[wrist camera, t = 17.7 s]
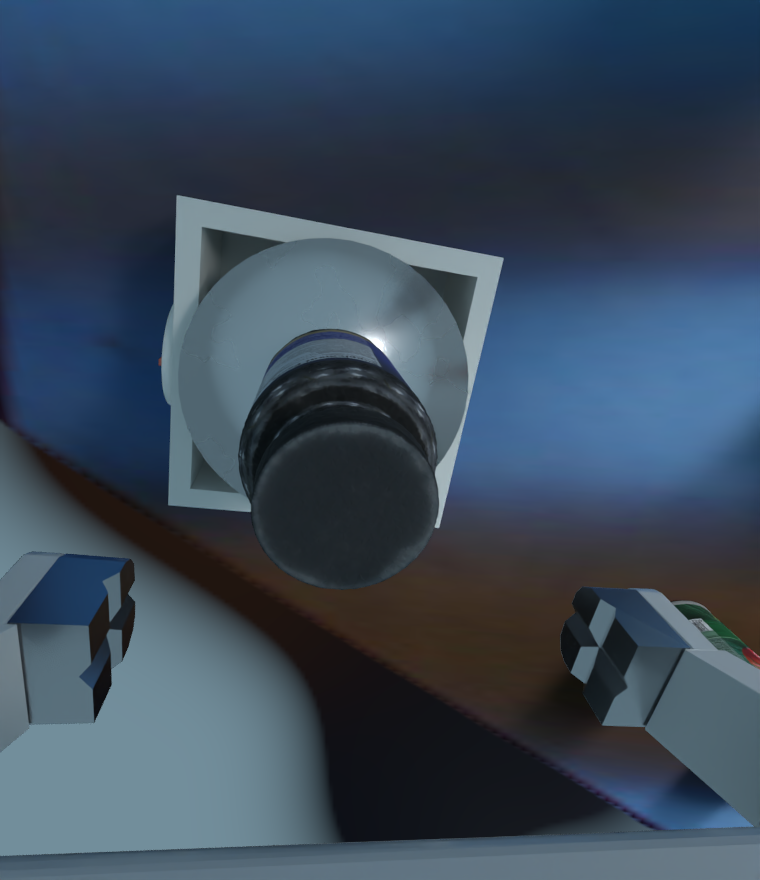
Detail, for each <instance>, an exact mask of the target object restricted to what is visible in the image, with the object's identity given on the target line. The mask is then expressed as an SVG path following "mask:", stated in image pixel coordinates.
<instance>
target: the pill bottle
mask: <svg viewBox="0 0 760 880" xmlns="http://www.w3.org/2000/svg"><path fill="white" fill-rule="evenodd" d="M437 458H438V455H437V440H436V433H435V431H434V427H433V424H432V423H431V419H430V417H429V416H428V414H427V413H426V409H425V408H424V406H423V405H422V403H421V402H420V400H419V398H418V397H417V396H416V395H415V393H414V392H413V391H412V390H411V388H410V387H409V386H408V384H407V383H406V382H405V380H404V379H403V378H402V376H401V375H400V373H399V372H398V371H397V370H396V368H395V367H394V366H393V364H392V363H391V361H390V360H389V359H388V357H387V356H386V355H385V354H384V353H383V352H382V351H381V350H380V349H379V348H378V347H377V346H376V345H375V344H374V343H373V342H371V341H370V340H369V339H367V338H366V337H363V336H361V335H359V334H357V333H354V332H351V331H347V330H342V329H318V330H312V331H309V332H307V333H304V334H302V335H299V336H297V337H295V338H294V339H292V340H291V341H290V342H289V343H287V344H286V345H285V346H284V347H283V348H282V349H281V350H279V351H278V352H277V353H276V354H275V355H274V357H273V358H272V360H271V362H270V364H269V366H268V368H267V370H266V373H265V375H264V377H263V380H262V382H261V385H260V387H259V390H258V392H257V395H256V397H255V400H254V402H253V405H252V407H251V409H250V412H249V414H248V417H247V419H246V421H245V425H244V428H243V430H242V434H241V437H240V444H239V453H238V461H239V473H240V477H241V481H242V485H243V488H244V490H245V493H246V496H247V497H248V499H249V502H250V504H251V518H252V525H253V528H254V531H255V535H256V537H257V539H258V541H259V543H260V545H261V547H262V549H263V550H264V552H265V553H266V554H267V556H268V557H269V558H270V559H271V560H272V561H273V562H274V563H275V564H276V565H277V566H278V568H280V569H281V570H283V571H284V572H285V573H287V574H288V575H290V576H292V577H294V578H296V579H297V580H300V581H302V582H304V583H307V584H310V585H313V586H316V587H320V588H328V589H331V588H332V589H340V590H344V589H357V588H361V587H366V586H370V585H373V584H377V583H379V582H382V581H384V580H386V579H388V578H390V577H392V576H393V575H395V574H397V573H398V572H400V571H401V570H402V569H404V568H406V567H407V566H408V565H409V564H410V563H411V562H412V561H413V560H414V559H416V558H417V557H418V555H419V553H420V552H422V551H423V549H424V547H425V546H426V545H427V543H428V541H429V539H430V538H431V535H432V533H433V530H434V528H435V524H436V520H437V518H438V512H439V496H438V485H437V481H436V477H435V471H436V466H437Z"/></svg>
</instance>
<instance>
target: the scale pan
mask: <svg viewBox="0 0 760 880" xmlns="http://www.w3.org/2000/svg"><path fill="white" fill-rule="evenodd" d="M318 329H342V330H347V331H351V332H354V333H357V334H359V335H361V336H363V337H366V338H367V339H369V340H370V341H371V342H373V343H374V344H375V345H376V346H377V347H378V348H379V349H380V350H381V351H382V352H383V353H384V354H385V355H386V356H387V357H388V359H389V360H390V361H391V363H392V364H393V366H394V367H395V368H396V370H397V371H398V372H399V373H400V375H401V376H402V378H403V379H404V380H405V382H406V383H407V384H408V386H409V387H410V388H411V390H412V391H413V392H414V393H415V395H416V396H417V397H418V398H419V400H420V402H421V403H422V405H423V406H424V408H425V409H426V413H427V414H428V416H429V417H430V419H431V423H432V424H433V427H434V431H435V433H436V440H437V455H438V458H437V466H438V464H439V463H440V462H441V461H442V459H443V458H444V457H445V455H446V453H447V452H448V450H449V448H450V447H451V445H452V443H453V441H454V439H455V437H456V435H457V433H458V430H459V428H460V425H461V422H462V419H463V415H464V412H465V407H466V401H467V396H468V377H469V375H468V364H467V356H466V352H465V347H464V343H463V339H462V336H461V334H460V331H459V328H458V326H457V323H456V321H455V319H454V317H453V315H452V314H451V312H450V310H449V308H448V306H447V305H446V303H445V302H444V301H443V299H442V298H441V296H440V295H439V294H438V292H437V291H436V290H435V289H434V288H433V287H432V286H431V285H430V284H429V283H428V281H427V280H426V279H425V278H424V277H423V276H422V275H420V274H419V273H418V272H416V271H415V270H414V269H413V268H411V267H410V266H409V265H408V264H406V263H404V262H403V261H401V260H399V259H398V258H396V257H394V256H393V255H391V254H389V253H387V252H384V251H382V250H379V249H377V248H375V247H372V246H370V245H366V244H362V243H358V242H354V241H350V240H342V239H333V238H311V239H303V240H297V241H291V242H286V243H283V244H280V245H277V246H274V247H270V248H267V249H265V250H263V251H261V252H259V253H257V254H255V255H253V256H251V257H249V258H247V259H246V260H244V261H243V262H241V263H240V264H238V265H237V266H235V267H234V268H232V269H231V270H230V271H229V272H228V273H227V274H225V275H224V276H223V277H222V278H221V279H220V280H219V281H218V282H217V283H216V284H215V285H214V286H213V287H212V289H211V290H210V291H209V292H208V294H207V295H206V296H205V297H204V298H203V300H202V302H201V303H200V305H199V307H198V308H197V310H196V312H195V313H194V315H193V317H192V319H191V321H190V324H189V326H188V329H187V331H186V334H185V336H184V340H183V344H182V348H181V352H180V359H179V369H178V386H179V397H180V402H181V408H182V413H183V416H184V419H185V422H186V425H187V428H188V430H189V432H190V434H191V437H192V439H193V441H194V443H195V445H196V447H197V448H198V450H199V451H200V453H201V454H202V456H203V457H204V459H205V460H206V462H207V463H208V464H209V465H210V466H211V468H212V469H213V470H214V471H215V472H216V473H217V474H218V475H219V476H220V477H221V478H222V479H223V480H224V481H225V482H226V483H227V484H228V485H230V486H231V487H232V488H233V489H235V490H236V491H238V492H239V493H240V494H242V495H243V496H245V497H246V498H248V497H247V496H246V493H245V490H244V488H243V485H242V481H241V477H240V473H239V461H238V453H239V444H240V437H241V434H242V430H243V428H244V425H245V421H246V419H247V417H248V414H249V412H250V409H251V407H252V405H253V402H254V400H255V397H256V395H257V392H258V390H259V387H260V385H261V382H262V380H263V377H264V375H265V373H266V370H267V368H268V366H269V364H270V362H271V360H272V358H273V357H274V355H275V354H276V353H277V352H278V351H279V350H281V349H282V348H283V347H284V346H285V345H286V344H287V343H289V342H290V341H291V340H292V339H294V338H295V337H297V336H299V335H302V334H304V333H307V332H309V331H312V330H318ZM437 466H436V467H437Z"/></svg>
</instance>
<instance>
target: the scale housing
mask: <svg viewBox="0 0 760 880" xmlns="http://www.w3.org/2000/svg"><path fill="white" fill-rule="evenodd" d="M311 238H333V239H342V240H350V241H354V242H358V243H362V244H366V245H370V246H372V247H375V248H377V249H379V250H382V251H384V252H387V253H389V254H391V255H393V256H394V257H396V258H398V259H399V260H401V261H403V262H404V263H406V264H408V265H409V266H410V267H411V268H413V269H414V270H415V271H416V272H418V273H419V274H420V275H422V276H423V277H424V278H425V279H426V280H427V281H428V283H429V284H430V285H431V286H432V287H433V288H434V289H435V290H436V291H437V292H438V294H439V295H440V296H441V298H442V299H443V301H444V302H445V303H446V305H447V306H448V308H449V310H450V312H451V314H452V315H453V317H454V319H455V321H456V323H457V326H458V328H459V331H460V334H461V336H462V339H463V343H464V347H465V352H466V356H467V364H468V375H469V377H468V396H467V401H466V407H465V412H464V415H463V419H462V422H461V425H460V428H459V430H458V433H457V435H456V437H455V439H454V441H453V443H452V445H451V447H450V448H449V450H448V452H447V453H446V455H445V457H444V458H443V459H442V461H441V462H440V463H439V464H438V466H437V467H436V471H435V477H436V481H437V485H438V496H439V512H438V518H437V520H436V524H435V527H436V528H439V526H440V522H441V518H442V513H443V509H444V505H445V501H446V497H447V493H448V488H449V484H450V480H451V476H452V472H453V468H454V463H455V459H456V455H457V451H458V447H459V443H460V438H461V434H462V430H463V426H464V422H465V418H466V413H467V409H468V405H469V401H470V397H471V393H472V388H473V384H474V380H475V376H476V372H477V368H478V363H479V359H480V355H481V351H482V347H483V343H484V338H485V334H486V330H487V326H488V322H489V318H490V313H491V309H492V305H493V301H494V297H495V293H496V288H497V284H498V280H499V276H500V272H501V268H502V263H503V259H504V258H501V257H496V256H491V255H486V254H480V253H475V252H470V251H465V250H460V249H454V248H449V247H444V246H439V245H434V244H428V243H423V242H418V241H413V240H408V239H403V238H397V237H392V236H387V235H382V234H377V233H371V232H366V231H361V230H356V229H351V228H345V227H340V226H335V225H330V224H325V223H319V222H314V221H309V220H304V219H299V218H293V217H288V216H283V215H278V214H273V213H267V212H262V211H257V210H252V209H247V208H241V207H236V206H231V205H226V204H221V203H215V202H210V201H205V200H200V199H195V198H189V197H184V196H179V195H177V205H176V242H175V278H174V304H173V305H172V308H171V310H170V313H169V315H168V319H167V323H166V327H165V333H164V339H163V347H162V357H161V358H159V365H160V366H161V372H162V386H163V392H164V396H165V399H166V401H167V403H168V404H169V405H171V424H170V460H169V497H168V505H172V506H184V507H196V508H208V509H220V510H232V511H244V512H251V504H250V502H249V499H248V498H246V497H245V496H243V495H242V494H240V493H239V492H238V491H236V490H235V489H233V488H232V487H231V486H230V485H228V484H227V483H226V482H225V481H224V480H223V479H222V478H221V477H220V476H219V475H218V474H217V473H216V472H215V471H214V470H213V469H212V468H211V466H210V465H209V464H208V463H207V462H206V460H205V459H204V457H203V456H202V454H201V453H200V451H199V450H198V448H197V447H196V445H195V443H194V441H193V439H192V437H191V434H190V432H189V430H188V428H187V425H186V422H185V419H184V416H183V413H182V408H181V402H180V397H179V386H178V369H179V359H180V352H181V348H182V344H183V340H184V336H185V334H186V331H187V329H188V326H189V324H190V321H191V319H192V317H193V315H194V313H195V312H196V310H197V308H198V307H199V305H200V303H201V302H202V300H203V298H204V297H205V296H206V295H207V294H208V292H209V291H210V290H211V289H212V287H213V286H214V285H215V284H216V283H217V282H218V281H219V280H220V279H221V278H222V277H223V276H224V275H225V274H227V273H228V272H229V271H230V270H231V269H232V268H234V267H235V266H237V265H238V264H240V263H241V262H243V261H244V260H246V259H247V258H249V257H251V256H253V255H255V254H257V253H259V252H261V251H263V250H265V249H267V248H270V247H274V246H277V245H280V244H283V243H286V242H291V241H297V240H303V239H311Z"/></svg>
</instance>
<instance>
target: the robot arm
mask: <svg viewBox="0 0 760 880" xmlns="http://www.w3.org/2000/svg"><path fill="white" fill-rule="evenodd" d="M134 581H135V576H134V563H133V562H132V560H131V559H125V558H113V557H101V556H88V555H77V554H61V553H46V552H30V553H27V554H24V555H23V556H22V557H21V558H20V559H19V560H18V561H17V562H16V563H15V564H14V565H13V567H12V568H11V569H10V570H9V571H8V572H7V573H6V574H5V575H4V576H3V578H1V580H0V752H1V751H3V750H4V749H5V748H6V747H7V746H9V745H10V744H11V743H12V742H13V741H14V740H16V739H17V738H18V737H19V736H20V735H22V734H23V733H24V732H25V731H26V730H28V729H29V725H30V724H67V723H68V724H70V723H71V724H72V723H94V722H95V720H96V718H97V716H98V714H99V711H100V709H101V707H102V705H103V703H104V700H105V698H106V696H107V694H108V692H109V689H110V687H111V685H112V681H111V669H112V668H114V667H115V666H116V665H118V664H119V663H121V662H122V661H123V658H124V656H125V654H126V651H127V649H128V647H129V643H130V639H131V635H132V632H133V627H134V619H135V601H134V600H133V599H132V598H131V597H130V596H129V595H128V592H129V590H130V588H131V586H132V584H133V583H134ZM572 605H573V608H574V610H575V614H574V615H572V616H571V617H570V618H569V619H568V620H566V621H565V623H564V626H563V629H562V632H561V635H560V642H561V653H562V656H563V659H564V662H565V664H566V665H567V667H568V669H569V671H570V673H572V674H573V675H574V676H576V677H577V678H578V679H579V680H581V681H582V682H583V683H584V687H583V694H584V696H585V698H586V699H587V701H588V703H589V704H590V706H591V708H592V709H593V711H594V713H595V714H596V716H597V718H598V719H599V721H600V723H601V724H602V725H606V726H633V727H646V728H645V730H646V731H647V732H648V733H650V734H651V735H652V736H653V737H654V738H655V739H656V740H657V741H659V742H660V743H661V744H662V745H663V746H664V747H665V748H666V749H668V750H669V751H670V752H671V753H672V754H673V755H674V756H675V757H677V758H678V759H679V760H680V761H681V762H682V763H683V764H684V765H686V766H687V767H688V768H689V769H690V770H691V771H692V772H693V773H695V774H696V775H697V776H698V777H699V778H700V779H701V780H702V781H704V782H705V783H706V784H707V785H708V786H709V787H710V788H711V789H713V790H714V791H715V792H716V793H717V794H718V795H719V796H720V797H722V798H723V799H724V800H725V801H726V802H727V803H728V804H729V805H731V806H732V807H733V808H734V809H735V810H736V811H737V812H738V813H739V814H741V815H742V816H743V817H744V818H745V819H746V820H747V821H748V822H750V823H751V824H752V825H753V826H754V827H732V828H706V829H682V830H657V831H633V832H610V833H585V834H562V835H561V834H560V835H536V836H510V837H482V838H457V839H429V840H403V841H379V842H378V841H377V842H350V843H324V844H298V845H272V846H246V847H224V848H223V847H221V848H196V849H171V850H145V851H120V852H92V853H68V854H67V853H66V854H42V855H16V856H0V880H760V670H759V669H757V668H756V667H754V666H752V665H750V664H748V663H747V662H745V661H743V660H741V659H740V658H738V657H736V656H734V655H732V654H731V653H729V652H727V651H723V650H717V649H716V648H715V647H714V646H713V645H712V644H711V643H710V642H709V641H708V640H707V639H706V638H705V636H704V635H703V634H702V633H701V632H700V631H699V630H698V629H697V628H696V627H695V626H694V625H693V624H692V623H691V622H690V621H689V620H688V619H687V618H686V617H685V616H684V615H683V614H682V613H681V612H680V611H679V610H678V609H677V608H676V607H675V606H674V605H673V604H672V603H671V602H670V601H669V600H668V599H667V598H666V597H665V596H664V595H663V594H662V593H660V592H658V591H656V590H654V589H634V588H629V589H616V588H597V587H581V588H580V589H579V590H578V591H577V592H576V594H575V597H574V599H573V602H572Z"/></svg>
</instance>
